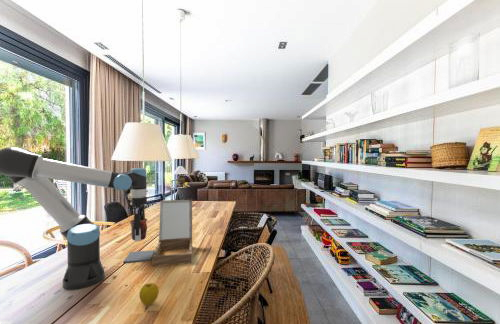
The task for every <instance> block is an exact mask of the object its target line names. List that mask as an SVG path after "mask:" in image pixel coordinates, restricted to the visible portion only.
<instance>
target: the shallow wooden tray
mask: <svg viewBox="0 0 500 324" xmlns="http://www.w3.org/2000/svg"><path fill="white" fill-rule="evenodd" d="M188 248H189V250H188V252H186V253H176V254H175V253H174V254H173V253H172V254H163V255H160V253H161V251H162V250H163V251H164V250H175V249H188ZM192 257H193V237H192V238H179V239H165V240H159V239H158V243H157V245H156V247H155V252H154V254H153V256H152V258H151V267H156V266H157V267H158V266H167V265H178V264H188V263H192V261H193V258H192Z"/></svg>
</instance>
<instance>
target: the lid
mask: <svg viewBox="0 0 500 324" xmlns="http://www.w3.org/2000/svg"><path fill="white" fill-rule="evenodd" d="M159 204H160V205H159V206H160V207H159V227H158V228H159V229H158V230H159V232H158V233H159V234H158V241H159V240H165V239H179V238H192V239H193V199H176V200H175V199H173V200H172V199H171V200H168V199H167V200H160V203H159Z"/></svg>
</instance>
